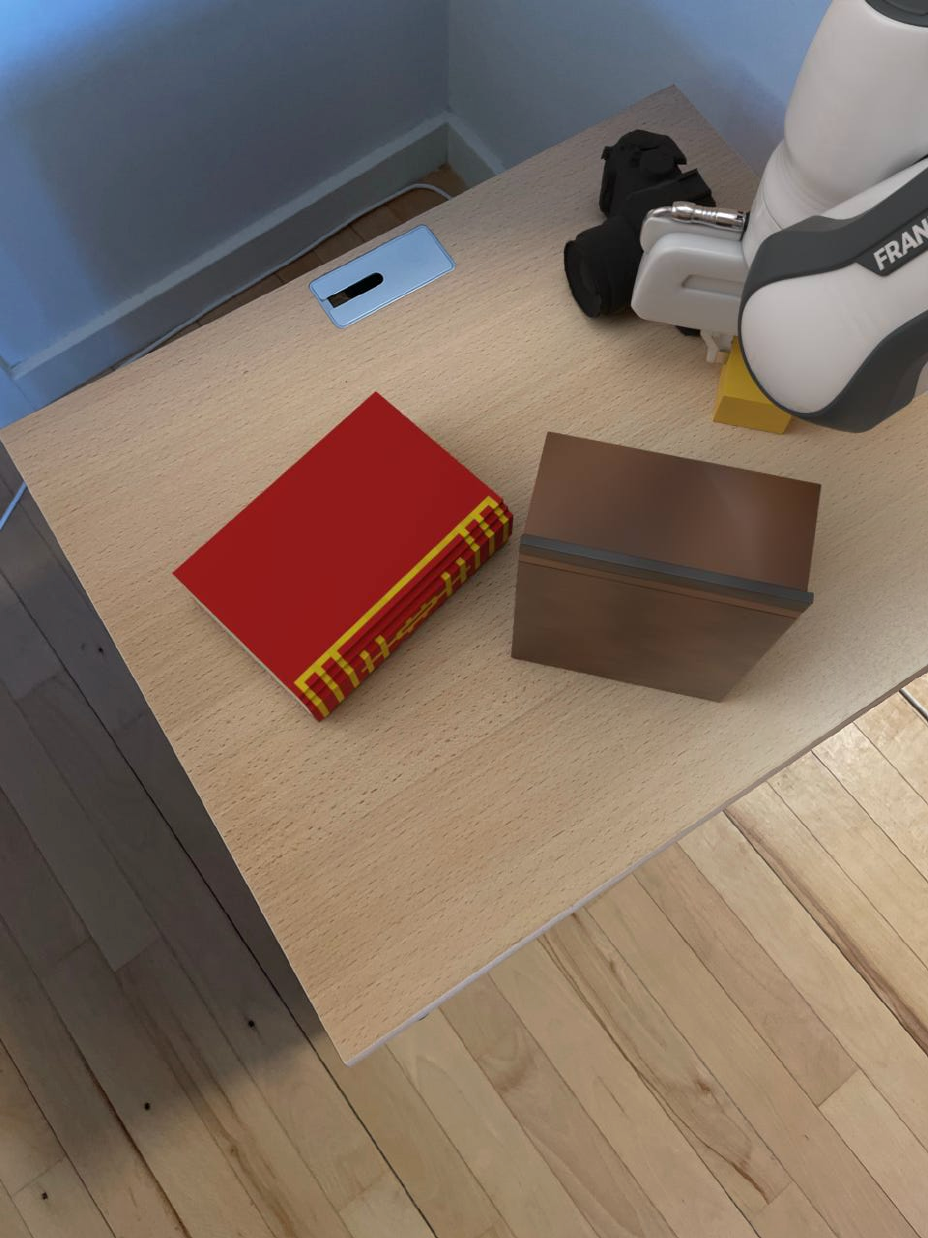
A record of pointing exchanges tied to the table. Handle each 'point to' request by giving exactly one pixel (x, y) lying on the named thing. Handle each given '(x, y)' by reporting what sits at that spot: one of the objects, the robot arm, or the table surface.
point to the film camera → (628, 220)
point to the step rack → (638, 632)
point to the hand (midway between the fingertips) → (762, 363)
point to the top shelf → (673, 524)
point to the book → (346, 554)
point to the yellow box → (745, 398)
